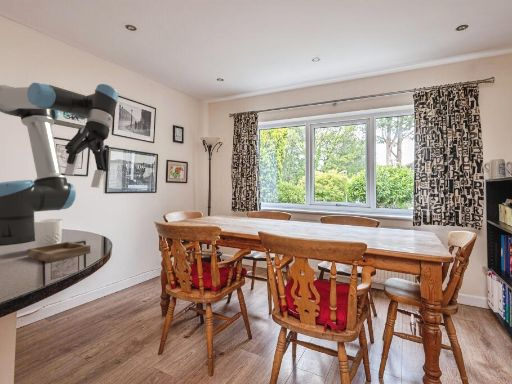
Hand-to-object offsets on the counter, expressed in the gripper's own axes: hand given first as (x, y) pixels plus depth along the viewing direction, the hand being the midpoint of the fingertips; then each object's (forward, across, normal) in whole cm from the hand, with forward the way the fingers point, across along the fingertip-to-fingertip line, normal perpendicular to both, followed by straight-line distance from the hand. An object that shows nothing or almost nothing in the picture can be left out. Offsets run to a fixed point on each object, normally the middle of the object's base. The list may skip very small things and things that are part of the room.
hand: (82, 181), depth 92 cm
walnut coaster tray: (+24, +2, +3) cm, 25 cm away
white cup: (+23, +9, +12) cm, 27 cm away
